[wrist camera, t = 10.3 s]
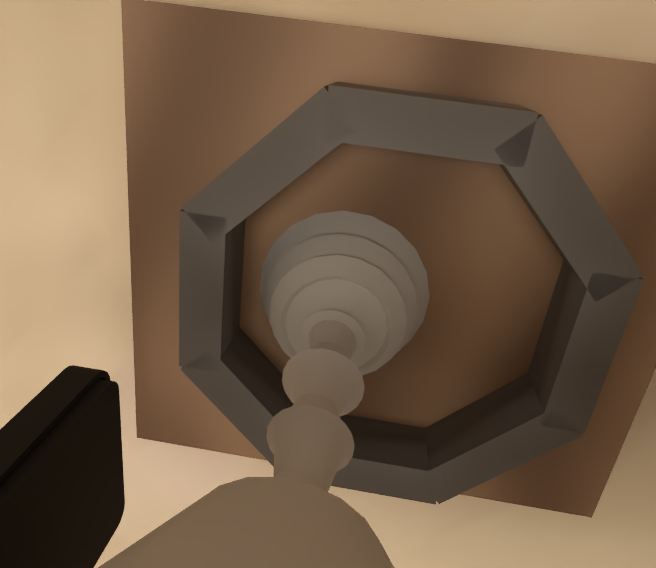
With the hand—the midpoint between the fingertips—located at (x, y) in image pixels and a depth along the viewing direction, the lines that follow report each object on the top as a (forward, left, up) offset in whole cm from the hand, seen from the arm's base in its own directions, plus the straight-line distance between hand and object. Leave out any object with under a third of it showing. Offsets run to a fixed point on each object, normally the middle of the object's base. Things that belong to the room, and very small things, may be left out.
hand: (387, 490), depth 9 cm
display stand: (0, 0, -9) cm, 9 cm away
